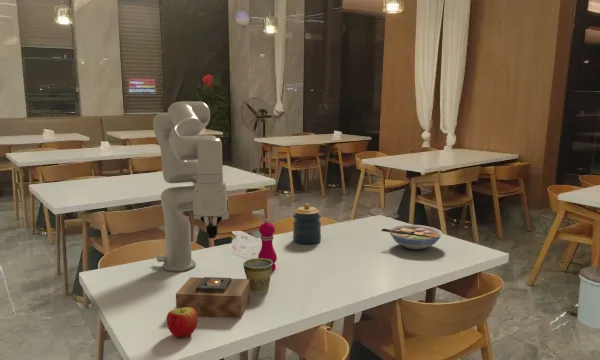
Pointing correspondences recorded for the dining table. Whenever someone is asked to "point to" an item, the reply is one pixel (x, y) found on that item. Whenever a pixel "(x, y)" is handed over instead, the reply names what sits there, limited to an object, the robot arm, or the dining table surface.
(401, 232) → the ramen bowl
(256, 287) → the ceramic cup
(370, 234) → the dining table surface
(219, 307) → the socket block
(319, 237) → the canister
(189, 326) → the apple
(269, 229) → the pepper mill
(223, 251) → the dining table surface
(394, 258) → the dining table surface
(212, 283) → the peg
